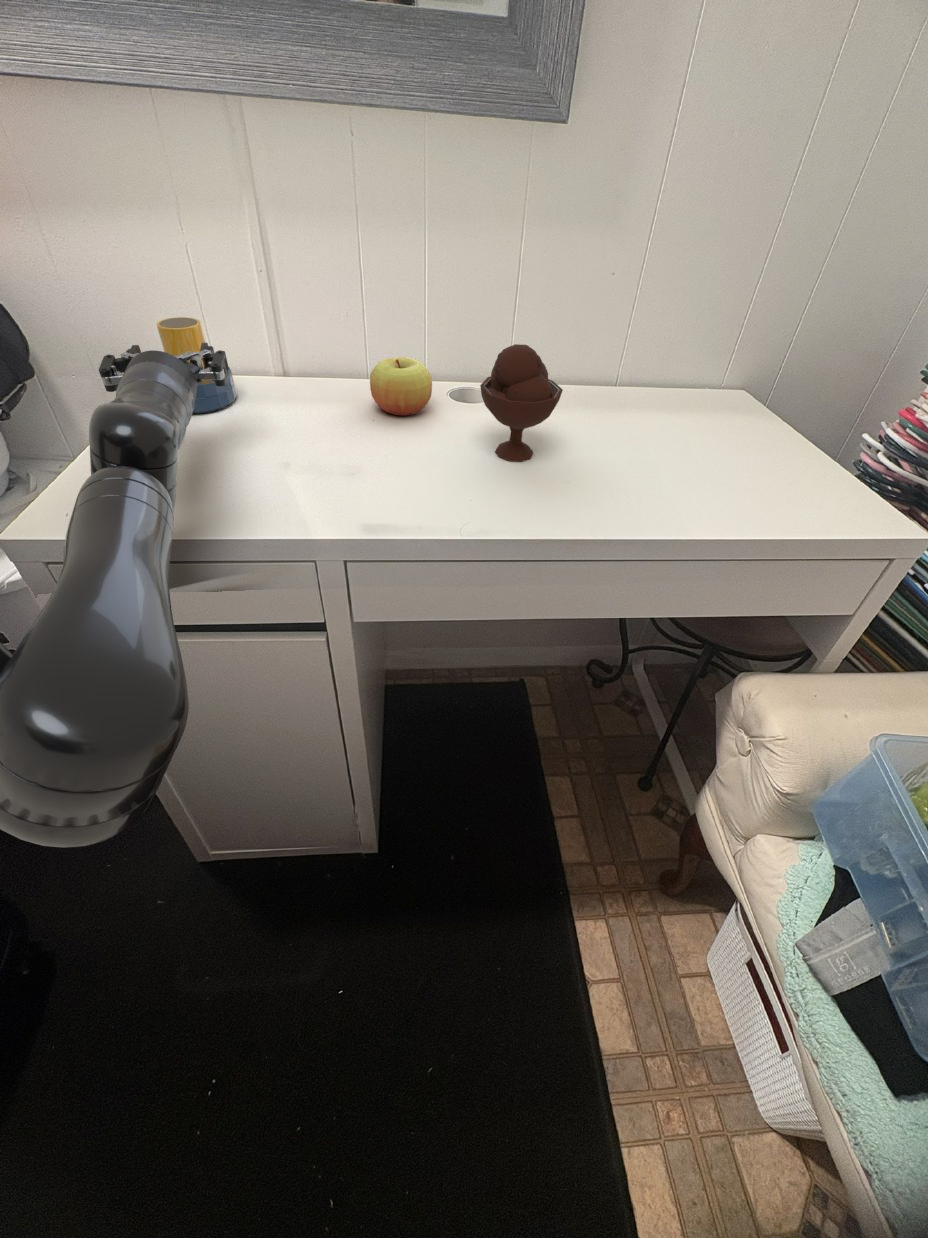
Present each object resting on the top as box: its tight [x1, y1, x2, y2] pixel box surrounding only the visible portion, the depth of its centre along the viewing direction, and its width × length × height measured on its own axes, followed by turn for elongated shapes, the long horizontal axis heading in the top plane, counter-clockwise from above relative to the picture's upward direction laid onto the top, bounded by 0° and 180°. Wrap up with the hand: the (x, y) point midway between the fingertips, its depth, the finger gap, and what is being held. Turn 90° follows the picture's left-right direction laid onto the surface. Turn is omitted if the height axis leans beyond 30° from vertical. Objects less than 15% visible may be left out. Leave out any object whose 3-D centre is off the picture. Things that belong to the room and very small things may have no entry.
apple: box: [369, 356, 433, 416], centre depth 90 cm, size 10×10×8 cm
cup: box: [156, 316, 213, 384], centre depth 87 cm, size 6×6×11 cm
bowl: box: [192, 366, 237, 415], centre depth 89 cm, size 11×11×4 cm
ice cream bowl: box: [480, 343, 564, 463], centre depth 77 cm, size 11×11×15 cm
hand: (172, 351), depth 76 cm, fingers open, 8 cm apart
